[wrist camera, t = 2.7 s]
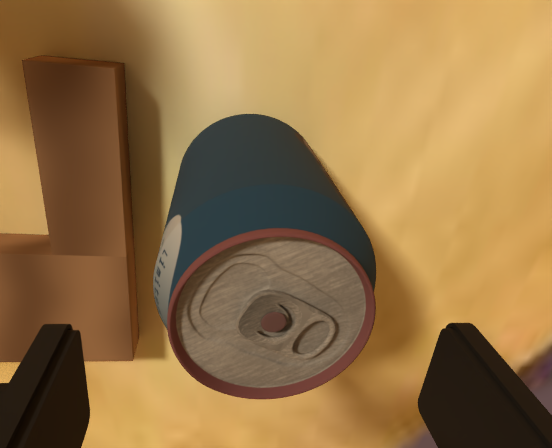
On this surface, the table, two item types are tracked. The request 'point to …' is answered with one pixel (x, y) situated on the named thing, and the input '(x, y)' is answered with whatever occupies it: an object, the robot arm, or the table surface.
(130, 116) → the table surface
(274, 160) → the soda can
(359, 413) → the table surface
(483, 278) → the table surface
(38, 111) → the u-shaped wooden block
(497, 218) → the table surface
